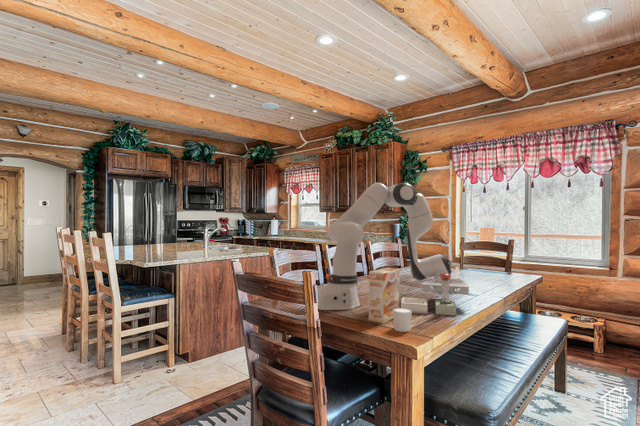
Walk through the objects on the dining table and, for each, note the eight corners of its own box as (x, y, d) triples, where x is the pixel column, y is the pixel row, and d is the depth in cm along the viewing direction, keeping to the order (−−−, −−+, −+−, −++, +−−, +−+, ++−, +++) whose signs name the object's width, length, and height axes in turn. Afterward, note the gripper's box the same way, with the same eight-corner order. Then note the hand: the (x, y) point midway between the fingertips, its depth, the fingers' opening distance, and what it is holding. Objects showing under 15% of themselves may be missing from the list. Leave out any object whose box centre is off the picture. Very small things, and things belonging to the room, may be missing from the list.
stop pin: (443, 314, 150) (444, 275, 150) (437, 311, 154) (438, 273, 154) (453, 313, 151) (453, 274, 151) (446, 310, 155) (446, 273, 155)
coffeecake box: (384, 324, 136) (384, 273, 136) (367, 320, 140) (367, 271, 141) (400, 315, 148) (400, 268, 148) (384, 312, 152) (384, 267, 153)
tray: (400, 312, 153) (400, 302, 153) (402, 305, 163) (402, 297, 163) (427, 314, 150) (427, 304, 150) (427, 307, 160) (427, 298, 160)
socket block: (436, 314, 150) (435, 304, 150) (435, 309, 158) (435, 300, 158) (456, 315, 148) (456, 305, 148) (454, 310, 155) (454, 301, 155)
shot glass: (410, 333, 125) (410, 313, 125) (391, 331, 128) (391, 311, 128) (412, 327, 132) (413, 308, 132) (394, 325, 134) (394, 307, 134)
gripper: (420, 277, 169) (420, 282, 156) (466, 279, 163) (470, 285, 150) (420, 290, 169) (420, 297, 155) (466, 293, 163) (470, 300, 150)
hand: (445, 291), depth 153 cm, fingers open, 8 cm apart
